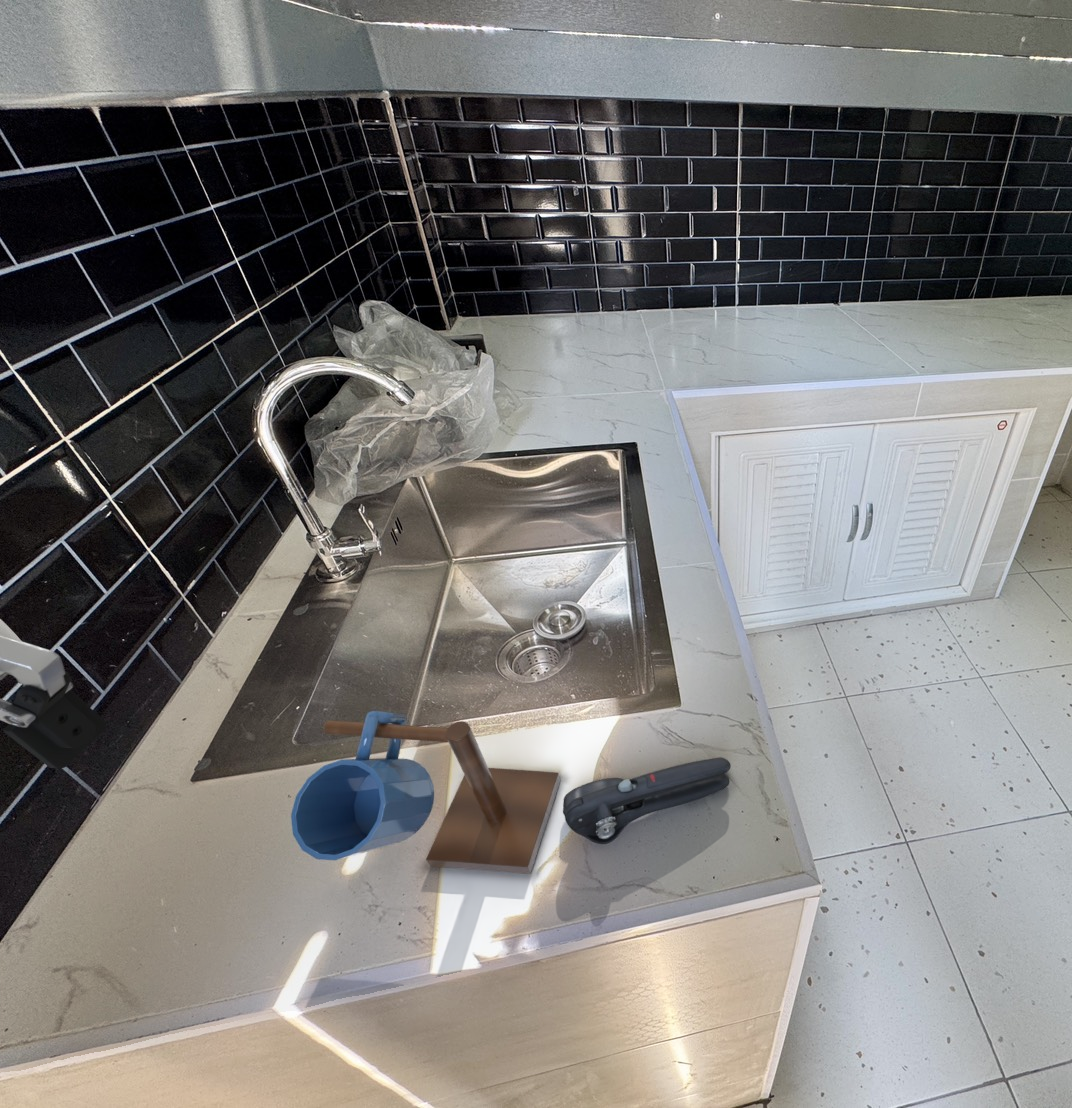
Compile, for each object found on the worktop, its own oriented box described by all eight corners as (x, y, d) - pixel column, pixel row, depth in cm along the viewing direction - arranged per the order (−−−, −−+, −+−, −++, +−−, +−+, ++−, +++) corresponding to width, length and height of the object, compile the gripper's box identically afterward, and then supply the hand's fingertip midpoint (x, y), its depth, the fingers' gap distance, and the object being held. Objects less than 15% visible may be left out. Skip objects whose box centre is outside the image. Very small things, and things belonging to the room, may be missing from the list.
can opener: (570, 863, 59) (561, 835, 56) (563, 799, 64) (554, 770, 61) (741, 810, 64) (742, 781, 60) (721, 754, 69) (721, 725, 65)
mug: (424, 847, 54) (371, 863, 47) (345, 841, 55) (279, 856, 47) (451, 717, 58) (405, 712, 50) (376, 712, 58) (319, 706, 51)
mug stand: (530, 874, 58) (491, 787, 48) (360, 861, 59) (287, 773, 49) (560, 779, 66) (532, 688, 56) (410, 769, 67) (355, 677, 57)
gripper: (-629, 556, 24) (-205, 789, 34) (-214, 581, 23) (85, 810, 34) (-347, 460, 29) (-61, 684, 40) (-11, 477, 29) (188, 701, 39)
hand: (5, 741), depth 37 cm, fingers open, 9 cm apart
